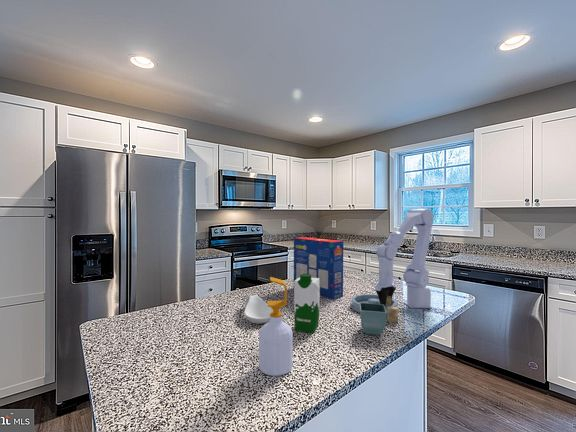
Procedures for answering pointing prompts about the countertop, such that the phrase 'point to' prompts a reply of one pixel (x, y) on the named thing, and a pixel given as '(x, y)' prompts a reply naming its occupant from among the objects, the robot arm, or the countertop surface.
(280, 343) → the soap bottle
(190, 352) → the countertop surface
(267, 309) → the spoon rest
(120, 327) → the countertop surface
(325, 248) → the pasta box
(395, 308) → the bead
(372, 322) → the flower pot
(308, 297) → the milk carton
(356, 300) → the ring tray
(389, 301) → the bead
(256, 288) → the countertop surface
